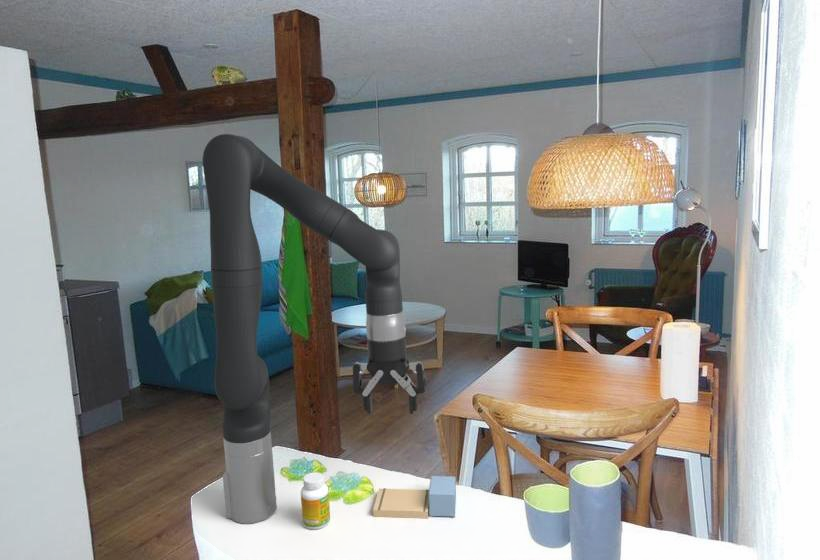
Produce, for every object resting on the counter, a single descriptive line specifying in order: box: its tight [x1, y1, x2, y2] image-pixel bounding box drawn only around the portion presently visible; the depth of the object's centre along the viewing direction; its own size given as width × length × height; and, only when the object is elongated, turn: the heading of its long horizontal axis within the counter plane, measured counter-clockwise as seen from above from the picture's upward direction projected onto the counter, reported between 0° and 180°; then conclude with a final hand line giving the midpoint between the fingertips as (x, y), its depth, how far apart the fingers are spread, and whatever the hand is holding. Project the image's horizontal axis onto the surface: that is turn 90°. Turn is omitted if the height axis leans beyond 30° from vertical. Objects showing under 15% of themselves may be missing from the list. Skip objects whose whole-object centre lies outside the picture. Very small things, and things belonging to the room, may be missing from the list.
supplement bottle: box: [300, 471, 331, 530], centre depth 117 cm, size 5×5×10 cm
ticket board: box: [372, 487, 430, 519], centre depth 122 cm, size 11×8×2 cm
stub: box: [428, 475, 457, 518], centre depth 121 cm, size 5×7×5 cm
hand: (391, 412), depth 118 cm, fingers open, 8 cm apart
